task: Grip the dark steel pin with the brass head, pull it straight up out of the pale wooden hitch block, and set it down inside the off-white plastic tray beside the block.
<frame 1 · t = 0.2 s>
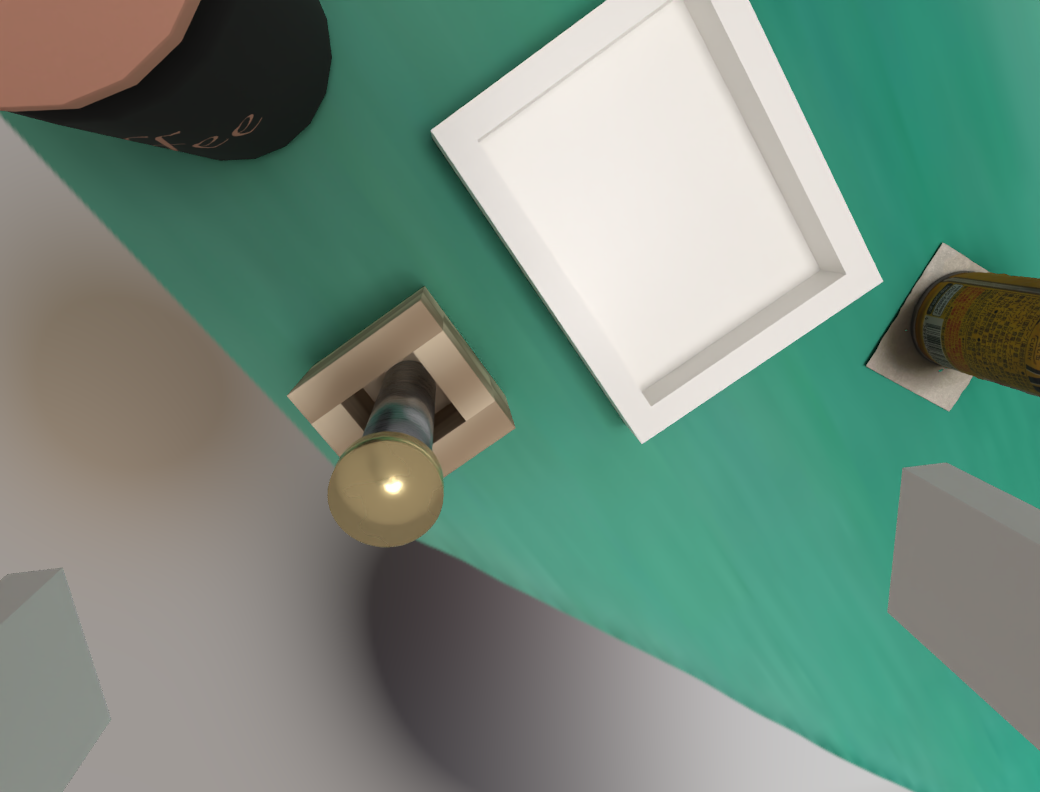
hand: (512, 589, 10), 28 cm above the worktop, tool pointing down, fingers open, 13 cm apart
steel pin: (409, 385, 36), point 1 cm above the worktop, touching hitch block
condiment: (941, 329, 40), on the worktop
coffee jar: (227, 50, 32), on the worktop
hitch block: (410, 381, 37), on the worktop
tray: (652, 211, 36), on the worktop
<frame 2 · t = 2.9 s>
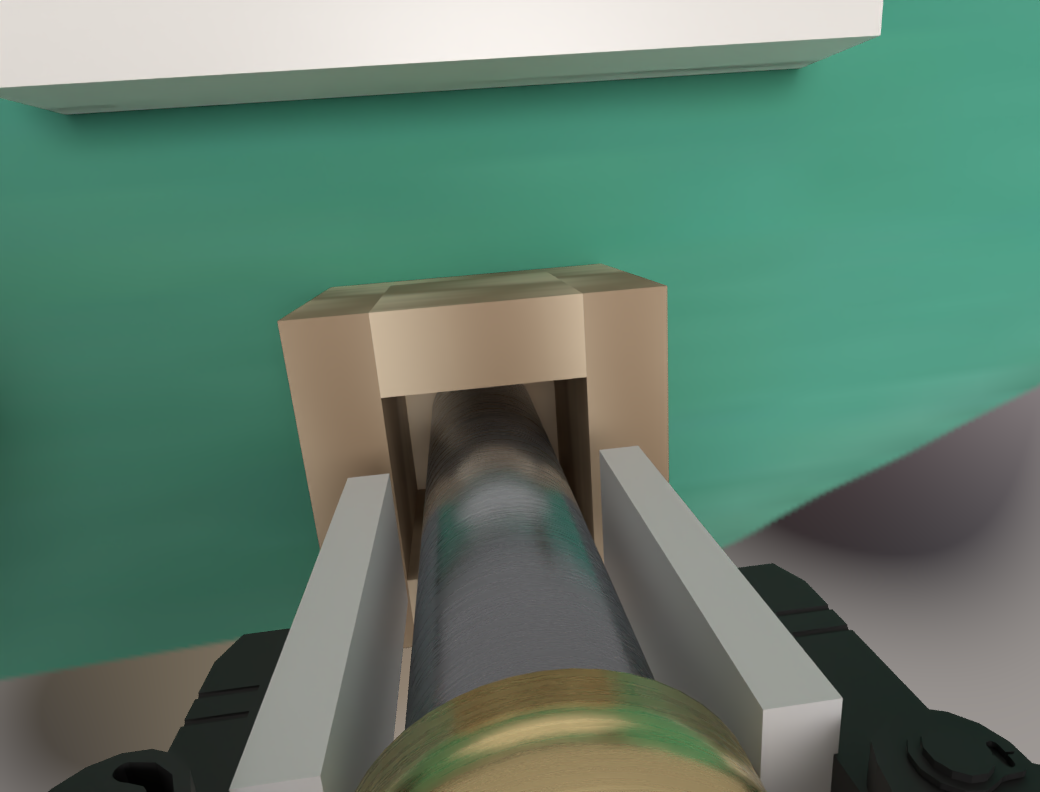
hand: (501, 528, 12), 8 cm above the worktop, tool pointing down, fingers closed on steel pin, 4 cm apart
steel pin: (482, 413, 19), point 1 cm above the worktop, touching gripper, hitch block
hitch block: (481, 404, 20), on the worktop
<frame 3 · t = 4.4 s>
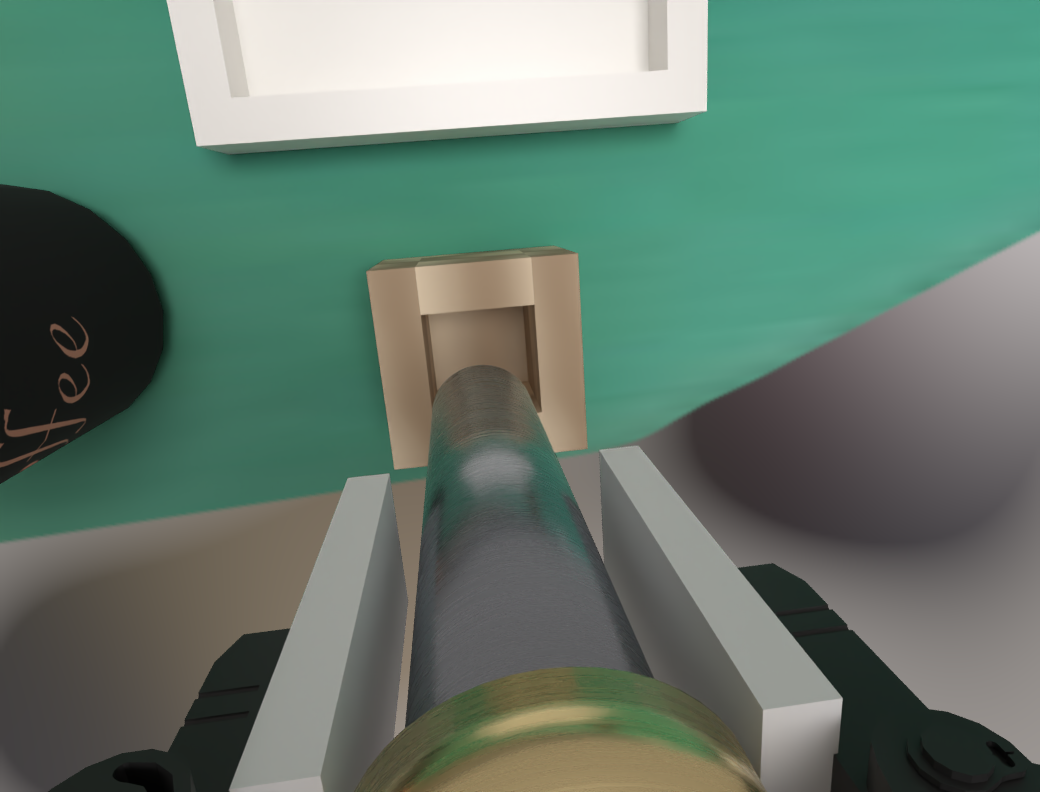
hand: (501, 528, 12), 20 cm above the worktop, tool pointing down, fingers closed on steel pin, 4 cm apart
steel pin: (482, 413, 19), point 12 cm above the worktop, touching gripper
coffee jar: (53, 309, 29), on the worktop
hitch block: (477, 336, 31), on the worktop
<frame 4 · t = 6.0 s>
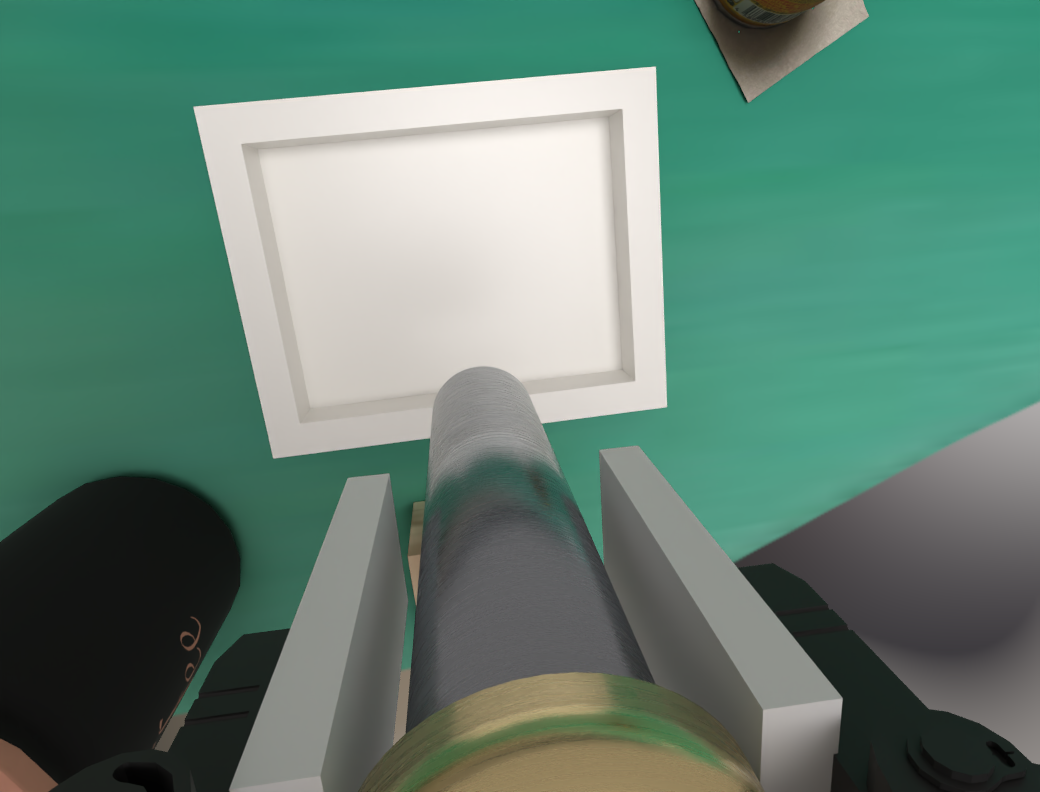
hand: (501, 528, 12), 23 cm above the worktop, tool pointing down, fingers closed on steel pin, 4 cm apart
steel pin: (483, 415, 19), point 16 cm above the worktop, touching gripper
coffee jar: (150, 553, 36), on the worktop
hitch block: (490, 553, 38), on the worktop
tray: (453, 266, 33), on the worktop
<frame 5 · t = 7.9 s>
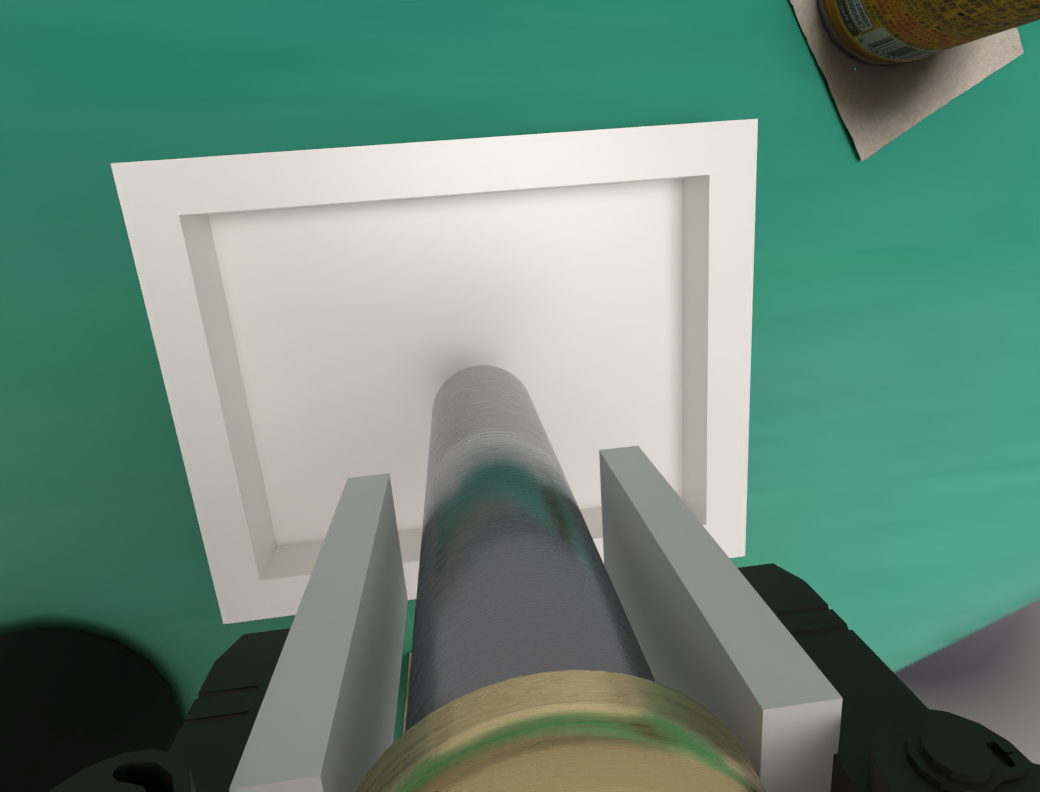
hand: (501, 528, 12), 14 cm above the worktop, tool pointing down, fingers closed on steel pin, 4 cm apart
steel pin: (482, 414, 19), point 7 cm above the worktop, touching gripper
condiment: (893, 4, 24), on the worktop
coffee jar: (69, 715, 28), on the worktop
tray: (469, 364, 25), on the worktop
when the fingers open (10 cm above the worktop, at t = 9.4 s): steel pin drops 1 cm, resting on tray.
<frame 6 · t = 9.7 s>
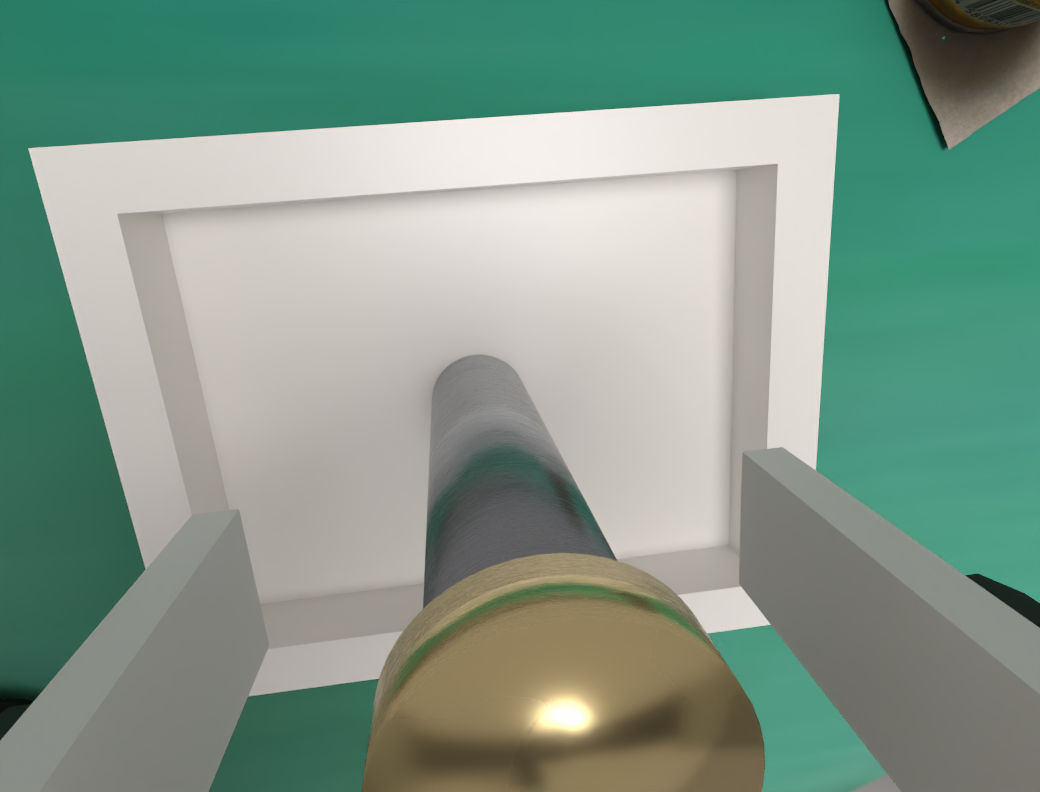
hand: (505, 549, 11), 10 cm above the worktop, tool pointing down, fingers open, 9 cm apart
steel pin: (479, 400, 20), point 1 cm above the worktop, touching tray
tray: (478, 391, 21), on the worktop
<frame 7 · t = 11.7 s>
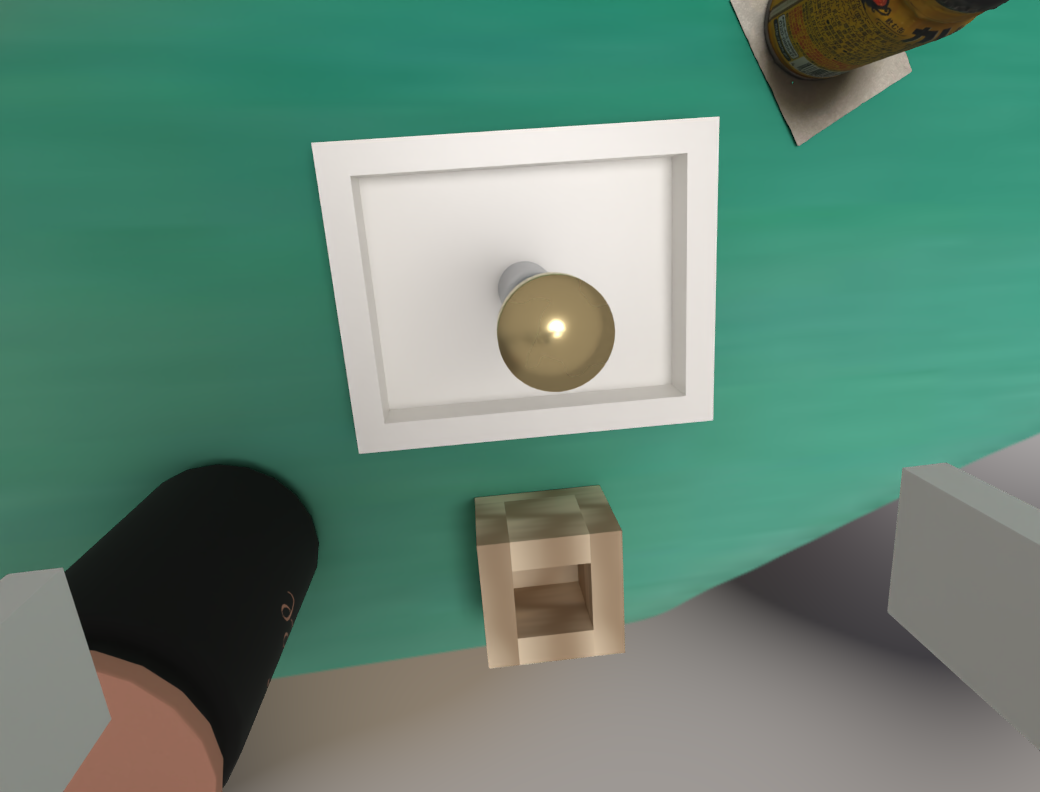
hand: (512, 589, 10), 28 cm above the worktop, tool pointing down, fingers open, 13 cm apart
steel pin: (524, 288, 35), point 1 cm above the worktop, touching tray
condiment: (819, 38, 34), on the worktop
coffee jar: (236, 534, 40), on the worktop
hitch block: (541, 547, 41), on the worktop
tray: (523, 286, 36), on the worktop
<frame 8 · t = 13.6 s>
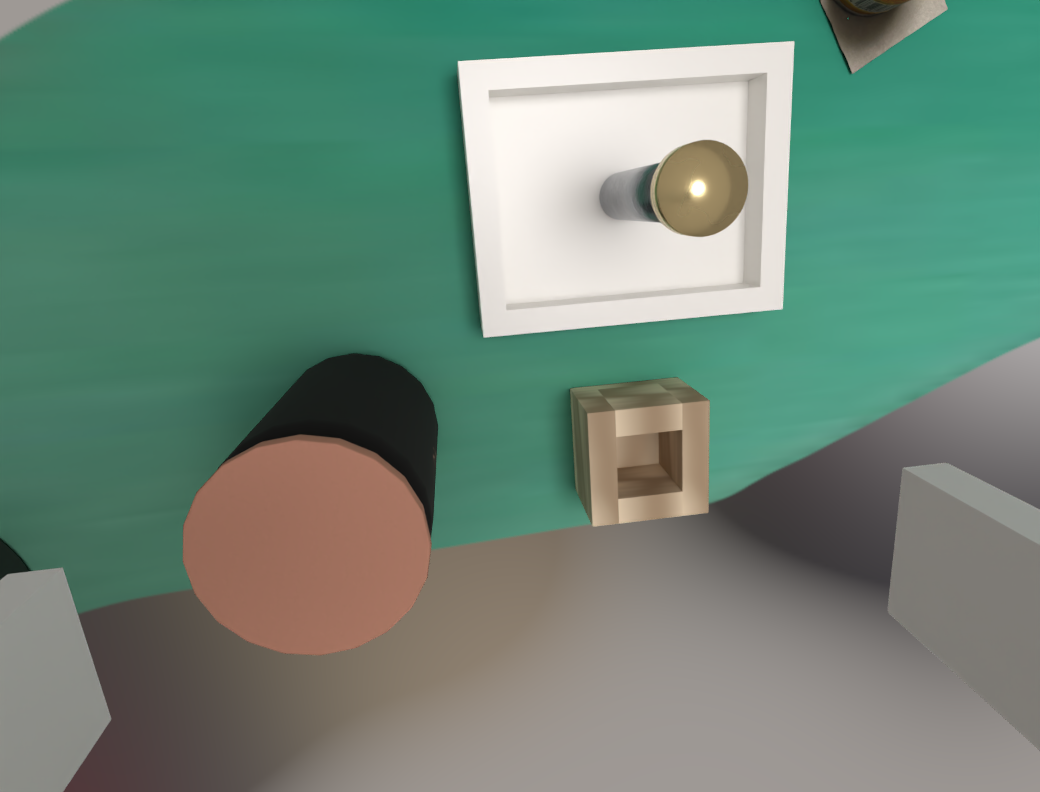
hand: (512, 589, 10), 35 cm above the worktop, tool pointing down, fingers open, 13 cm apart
steel pin: (621, 196, 41), point 1 cm above the worktop, touching tray
coffee jar: (362, 422, 45), on the worktop
hitch block: (625, 434, 47), on the worktop
tray: (618, 196, 42), on the worktop
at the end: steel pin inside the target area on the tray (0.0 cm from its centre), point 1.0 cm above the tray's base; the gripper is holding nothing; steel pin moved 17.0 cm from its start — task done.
